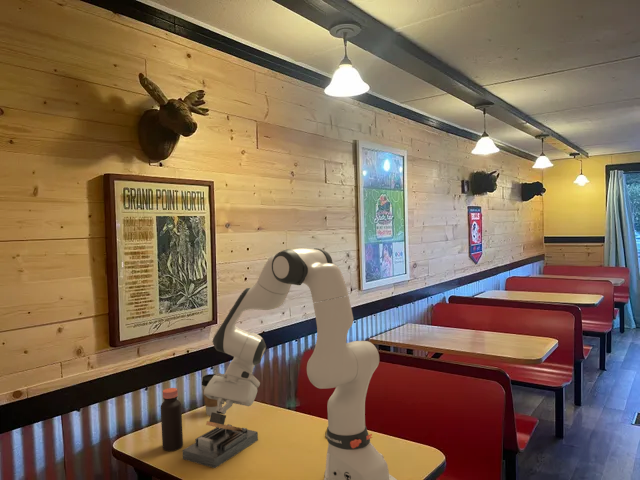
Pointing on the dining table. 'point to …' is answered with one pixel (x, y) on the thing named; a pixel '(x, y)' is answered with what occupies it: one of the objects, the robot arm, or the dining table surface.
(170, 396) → the bottle
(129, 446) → the dining table surface
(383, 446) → the dining table surface
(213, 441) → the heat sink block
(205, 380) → the coffee cup
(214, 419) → the brown and black bar
